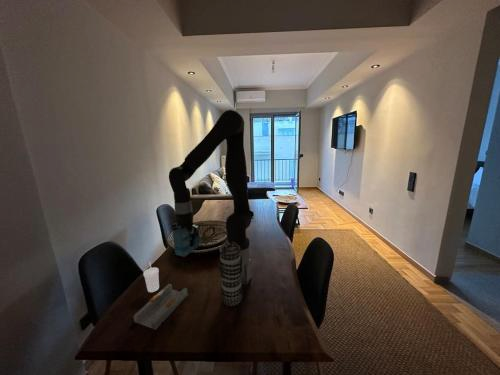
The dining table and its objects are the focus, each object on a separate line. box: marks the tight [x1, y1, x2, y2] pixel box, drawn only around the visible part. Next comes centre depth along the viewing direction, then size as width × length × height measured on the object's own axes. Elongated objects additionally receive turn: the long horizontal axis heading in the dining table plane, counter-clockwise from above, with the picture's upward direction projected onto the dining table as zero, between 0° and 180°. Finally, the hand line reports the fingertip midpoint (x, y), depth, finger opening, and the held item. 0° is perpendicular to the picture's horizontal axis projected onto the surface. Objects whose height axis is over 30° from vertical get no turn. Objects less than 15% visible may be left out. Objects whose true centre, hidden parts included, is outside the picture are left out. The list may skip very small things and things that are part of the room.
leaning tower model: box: [218, 241, 244, 307], centre depth 82 cm, size 9×9×25 cm
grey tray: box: [133, 283, 189, 331], centre depth 81 cm, size 10×18×4 cm, turn 160°
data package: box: [172, 223, 200, 258], centre depth 96 cm, size 12×4×12 cm, turn 156°
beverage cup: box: [142, 260, 160, 293], centre depth 90 cm, size 6×6×14 cm
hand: (187, 245), depth 96 cm, fingers closed on data package, 4 cm apart
